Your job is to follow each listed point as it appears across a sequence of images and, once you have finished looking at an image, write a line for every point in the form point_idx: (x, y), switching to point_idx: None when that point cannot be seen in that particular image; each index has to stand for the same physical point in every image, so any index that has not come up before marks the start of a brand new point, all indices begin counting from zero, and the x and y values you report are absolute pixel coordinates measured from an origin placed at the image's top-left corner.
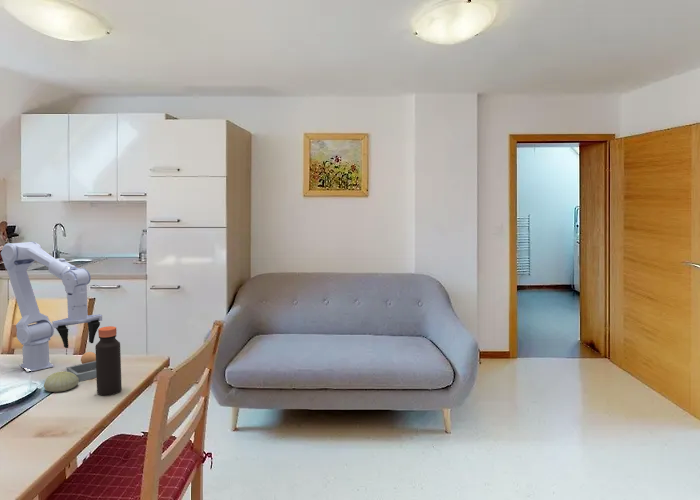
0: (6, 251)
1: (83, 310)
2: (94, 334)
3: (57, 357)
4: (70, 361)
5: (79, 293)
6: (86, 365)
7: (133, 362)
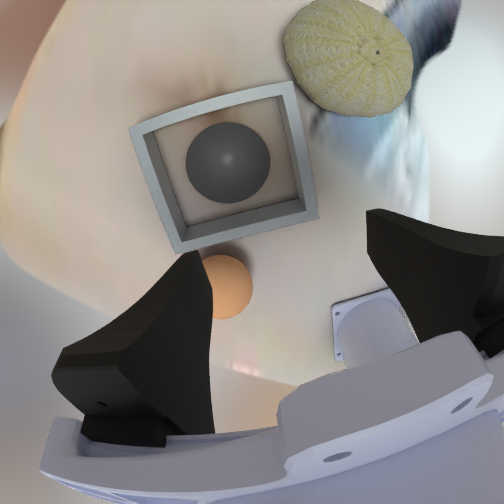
0: None
1: None
2: (155, 290)
3: (302, 371)
4: (276, 335)
5: None
6: (233, 224)
7: (68, 234)
